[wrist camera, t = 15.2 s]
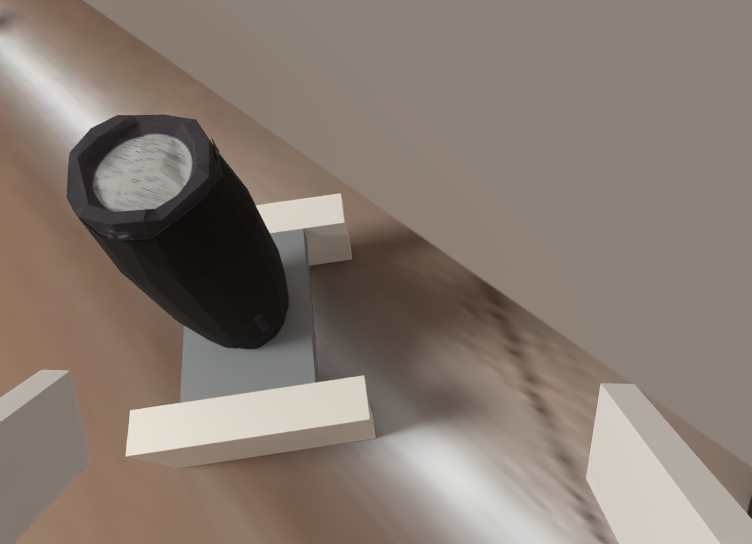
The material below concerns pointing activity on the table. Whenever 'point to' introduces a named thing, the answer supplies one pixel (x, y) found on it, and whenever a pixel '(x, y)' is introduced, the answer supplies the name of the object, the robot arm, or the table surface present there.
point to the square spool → (263, 368)
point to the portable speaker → (180, 226)
